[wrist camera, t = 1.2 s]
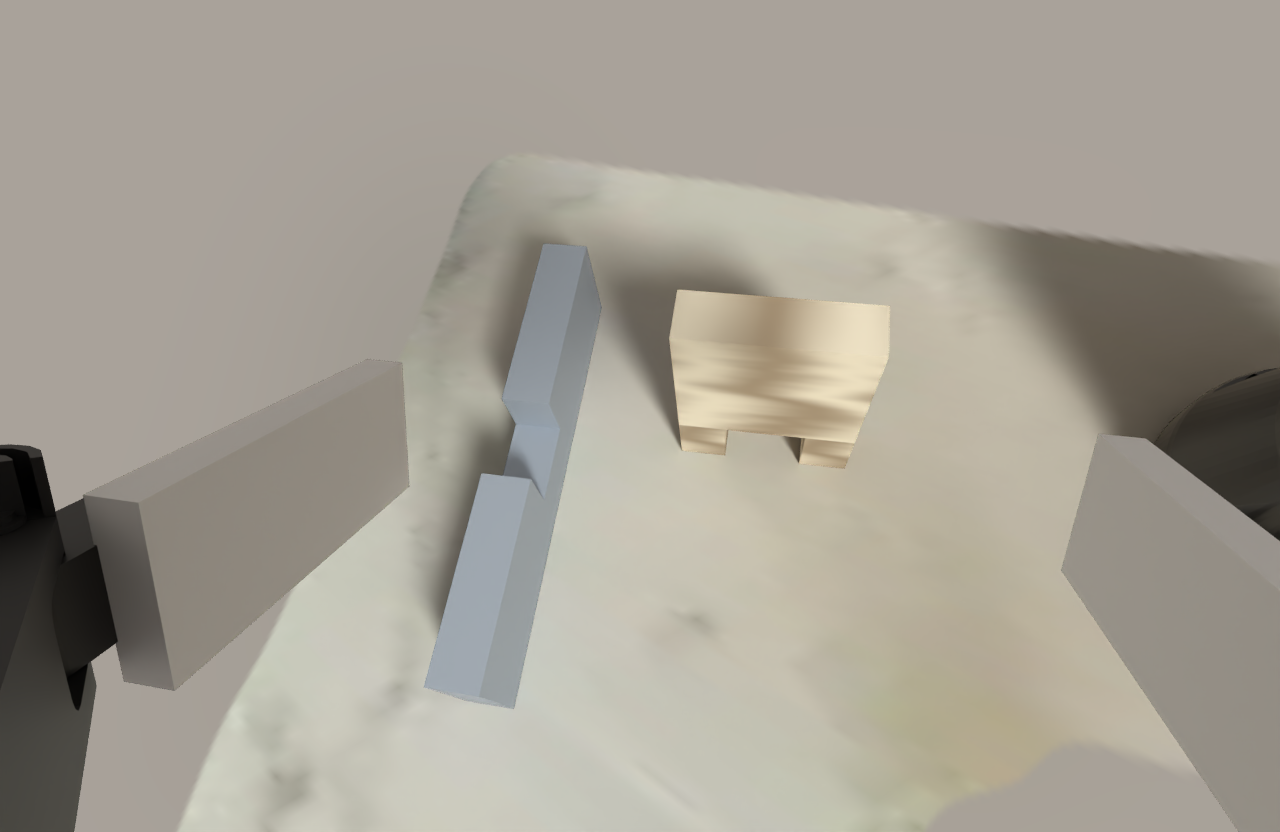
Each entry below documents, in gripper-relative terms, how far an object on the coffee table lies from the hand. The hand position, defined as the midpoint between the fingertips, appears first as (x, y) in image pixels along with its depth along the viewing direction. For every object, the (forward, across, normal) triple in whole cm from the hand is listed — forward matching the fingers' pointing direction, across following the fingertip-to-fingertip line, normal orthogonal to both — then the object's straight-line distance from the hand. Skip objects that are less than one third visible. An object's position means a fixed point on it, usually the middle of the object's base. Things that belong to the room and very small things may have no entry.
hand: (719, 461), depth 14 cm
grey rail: (+24, -11, -12) cm, 29 cm away
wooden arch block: (+27, +1, -9) cm, 28 cm away
